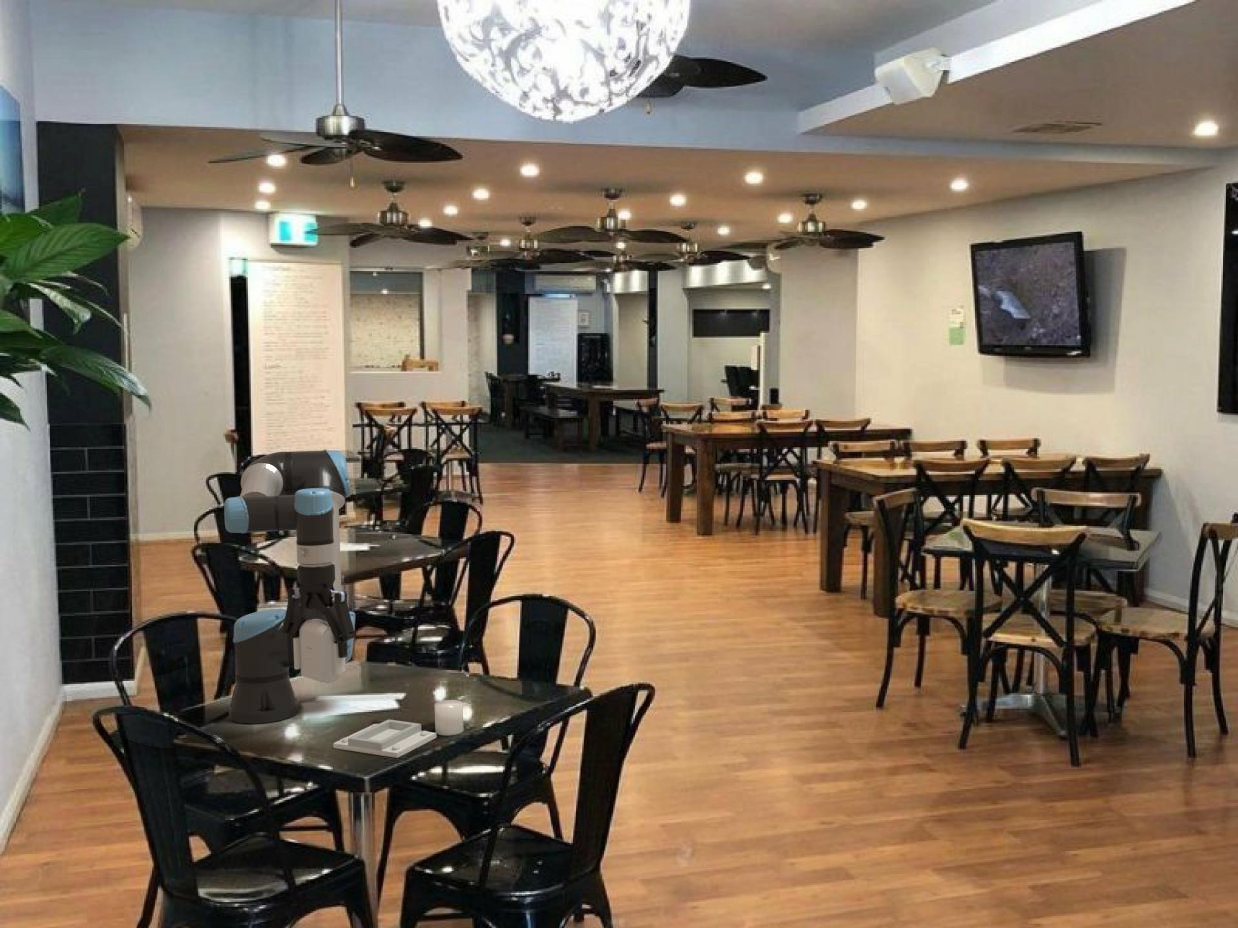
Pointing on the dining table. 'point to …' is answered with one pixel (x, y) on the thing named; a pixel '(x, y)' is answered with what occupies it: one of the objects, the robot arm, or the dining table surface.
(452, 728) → the white rounded cylinder
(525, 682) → the dining table surface
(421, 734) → the dock plate
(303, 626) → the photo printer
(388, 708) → the dining table surface
